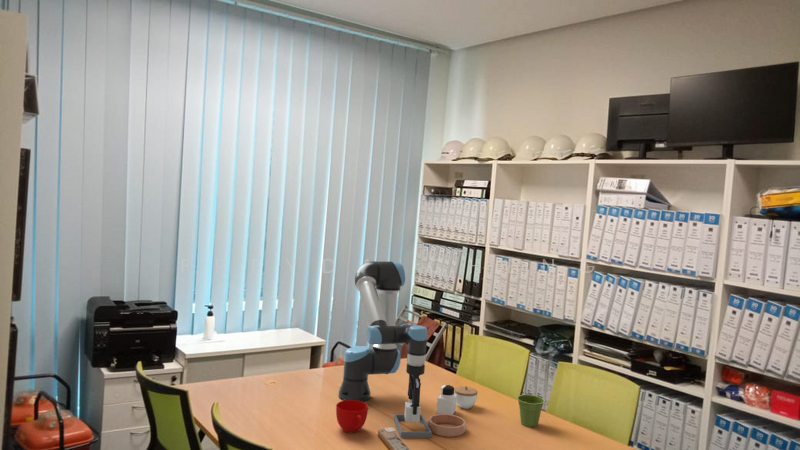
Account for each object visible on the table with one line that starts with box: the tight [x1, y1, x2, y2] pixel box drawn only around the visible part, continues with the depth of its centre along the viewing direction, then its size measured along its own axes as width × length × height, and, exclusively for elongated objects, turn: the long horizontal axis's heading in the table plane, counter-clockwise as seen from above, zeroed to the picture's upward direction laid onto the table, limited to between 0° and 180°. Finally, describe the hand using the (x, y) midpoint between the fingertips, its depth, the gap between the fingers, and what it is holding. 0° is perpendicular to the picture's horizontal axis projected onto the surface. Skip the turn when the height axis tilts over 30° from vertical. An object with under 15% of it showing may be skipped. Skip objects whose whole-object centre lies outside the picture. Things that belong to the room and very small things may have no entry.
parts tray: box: [393, 413, 433, 439], centre depth 243 cm, size 13×20×2 cm, turn 9°
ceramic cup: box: [335, 400, 369, 433], centre depth 235 cm, size 13×17×10 cm
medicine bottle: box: [436, 384, 457, 415], centre depth 264 cm, size 7×7×12 cm
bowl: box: [427, 413, 467, 438], centre depth 243 cm, size 15×15×4 cm
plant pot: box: [516, 394, 546, 428], centre depth 255 cm, size 12×12×11 cm
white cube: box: [404, 401, 422, 423], centre depth 243 cm, size 6×6×6 cm
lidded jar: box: [454, 386, 478, 410], centre depth 273 cm, size 11×11×9 cm
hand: (412, 418), depth 243 cm, fingers closed on white cube, 6 cm apart
